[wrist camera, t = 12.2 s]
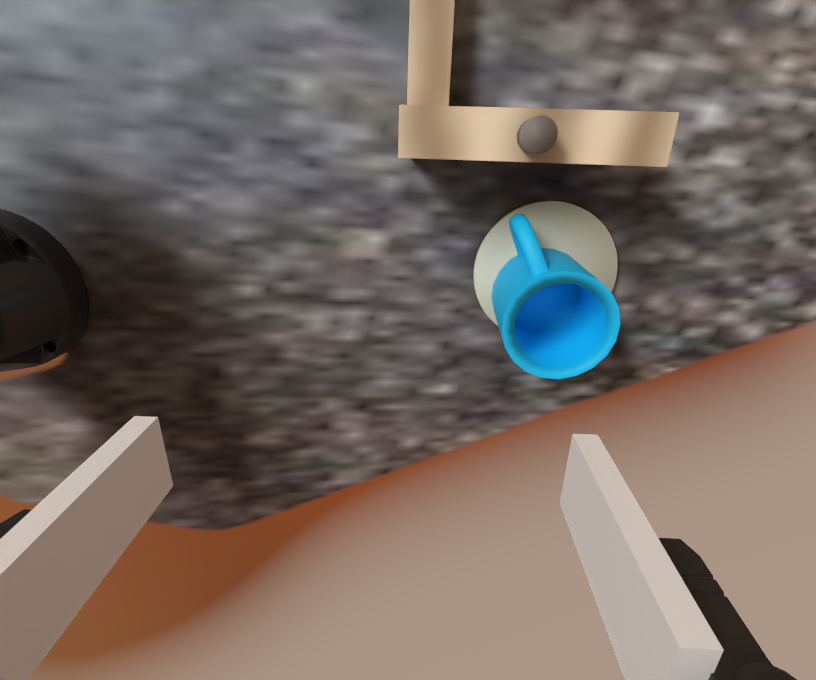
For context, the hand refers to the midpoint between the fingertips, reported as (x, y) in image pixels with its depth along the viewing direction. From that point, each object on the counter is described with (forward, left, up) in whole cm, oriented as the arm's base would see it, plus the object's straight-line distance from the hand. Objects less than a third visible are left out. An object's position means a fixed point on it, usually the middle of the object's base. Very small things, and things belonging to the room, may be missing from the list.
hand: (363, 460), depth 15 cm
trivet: (+11, 0, -28) cm, 30 cm away
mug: (+10, 0, -28) cm, 29 cm away
